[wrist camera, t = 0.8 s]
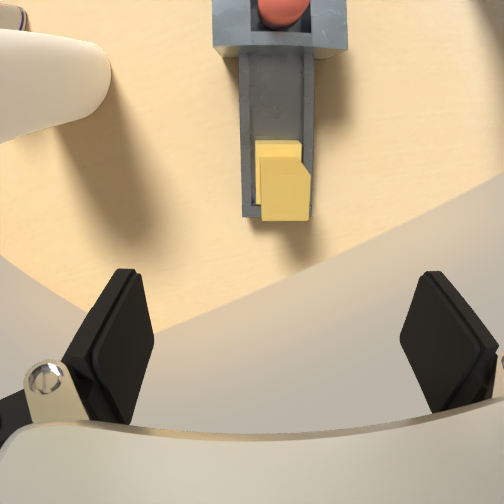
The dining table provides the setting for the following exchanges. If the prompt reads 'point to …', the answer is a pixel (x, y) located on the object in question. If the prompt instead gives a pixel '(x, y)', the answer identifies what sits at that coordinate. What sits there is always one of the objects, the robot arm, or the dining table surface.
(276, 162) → the block
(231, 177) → the dining table surface
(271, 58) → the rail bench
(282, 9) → the button
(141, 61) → the dining table surface
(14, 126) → the cup
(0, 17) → the energy drink
